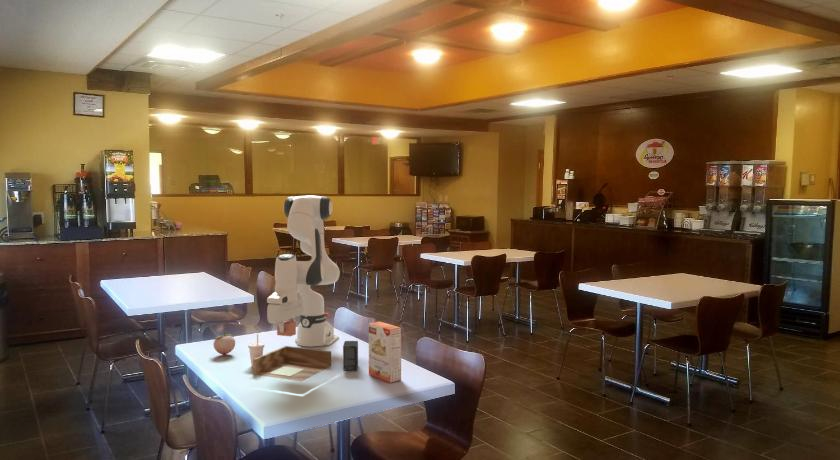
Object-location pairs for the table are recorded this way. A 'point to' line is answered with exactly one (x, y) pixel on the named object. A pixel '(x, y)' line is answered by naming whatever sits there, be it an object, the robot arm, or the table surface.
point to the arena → (292, 362)
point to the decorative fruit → (224, 344)
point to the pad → (286, 371)
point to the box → (350, 355)
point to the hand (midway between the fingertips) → (286, 330)
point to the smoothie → (255, 350)
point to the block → (287, 329)
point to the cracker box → (385, 351)
